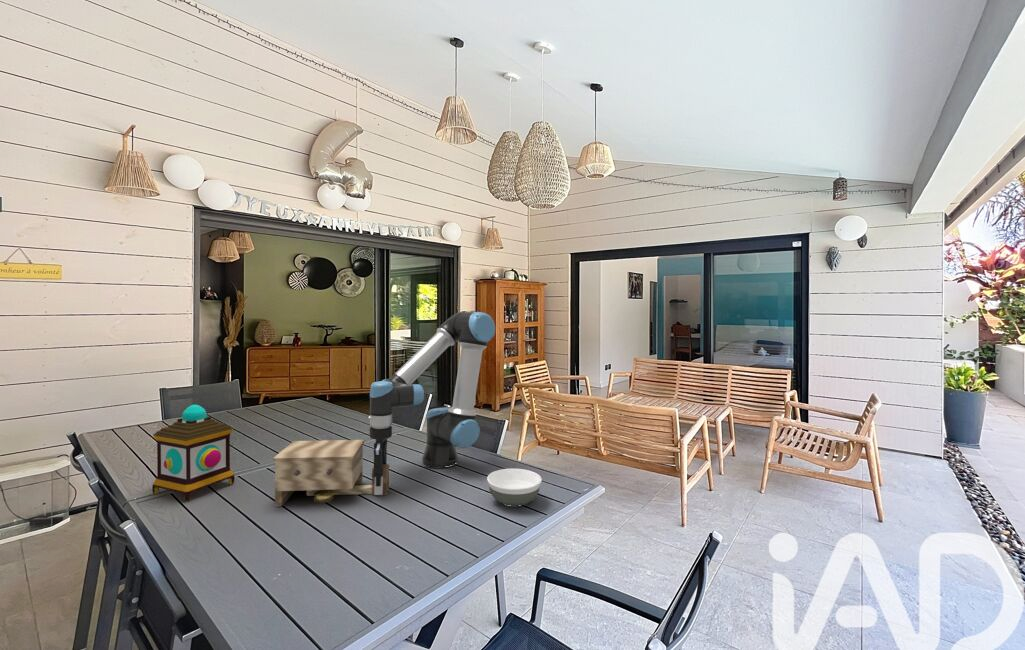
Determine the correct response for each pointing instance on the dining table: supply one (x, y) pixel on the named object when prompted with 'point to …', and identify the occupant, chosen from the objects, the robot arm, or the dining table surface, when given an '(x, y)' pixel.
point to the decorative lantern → (192, 453)
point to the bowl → (514, 486)
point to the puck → (323, 496)
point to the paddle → (363, 486)
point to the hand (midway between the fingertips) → (379, 491)
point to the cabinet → (317, 467)
